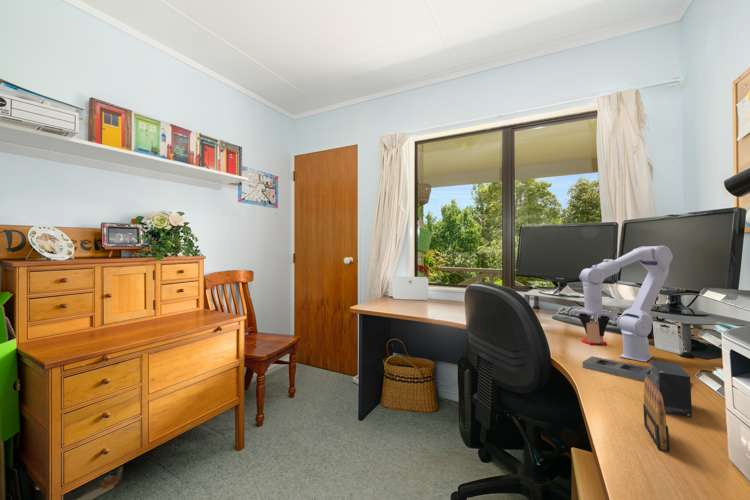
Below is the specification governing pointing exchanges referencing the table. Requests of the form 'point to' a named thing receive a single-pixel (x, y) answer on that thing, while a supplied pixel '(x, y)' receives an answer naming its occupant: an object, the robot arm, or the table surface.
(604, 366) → the grey slotted board
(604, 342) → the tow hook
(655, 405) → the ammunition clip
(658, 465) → the table surface
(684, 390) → the small box
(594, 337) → the peg
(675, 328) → the ink box
